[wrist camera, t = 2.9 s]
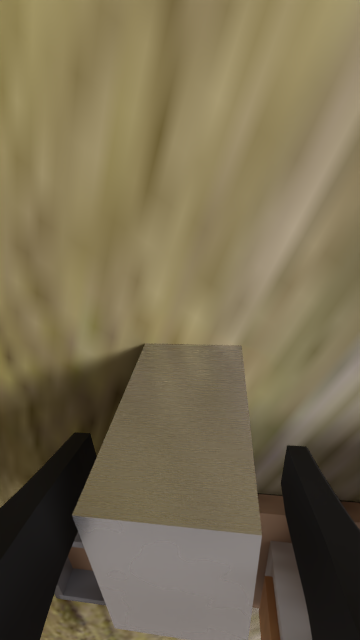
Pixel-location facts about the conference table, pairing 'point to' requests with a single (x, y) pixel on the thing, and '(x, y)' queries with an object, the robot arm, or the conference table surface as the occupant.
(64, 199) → the conference table surface
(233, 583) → the grey rectangular block
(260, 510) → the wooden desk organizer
